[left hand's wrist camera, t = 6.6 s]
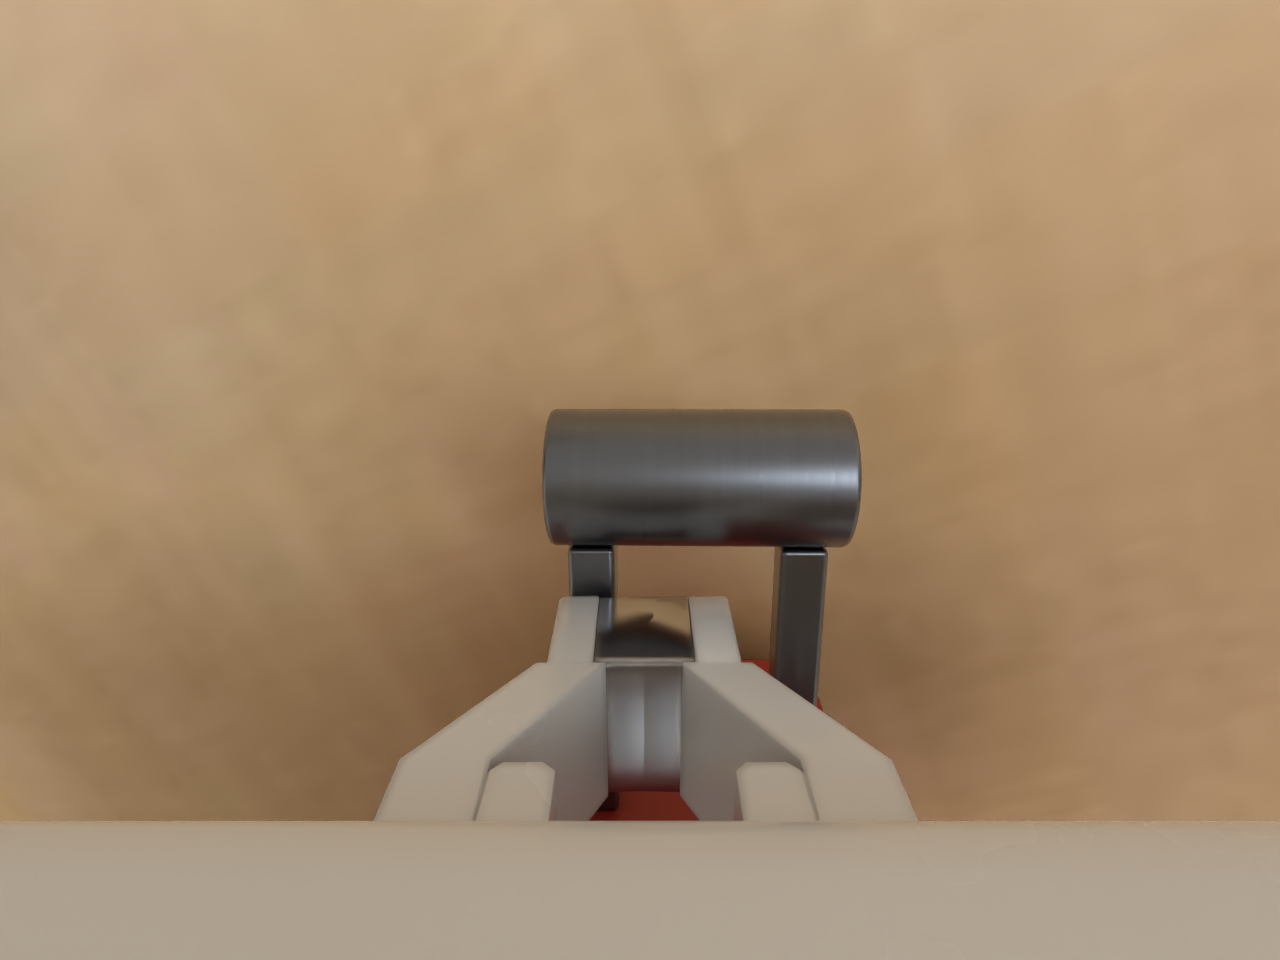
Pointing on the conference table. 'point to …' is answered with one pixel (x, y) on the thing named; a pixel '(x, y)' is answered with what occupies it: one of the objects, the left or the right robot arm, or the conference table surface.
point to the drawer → (707, 517)
